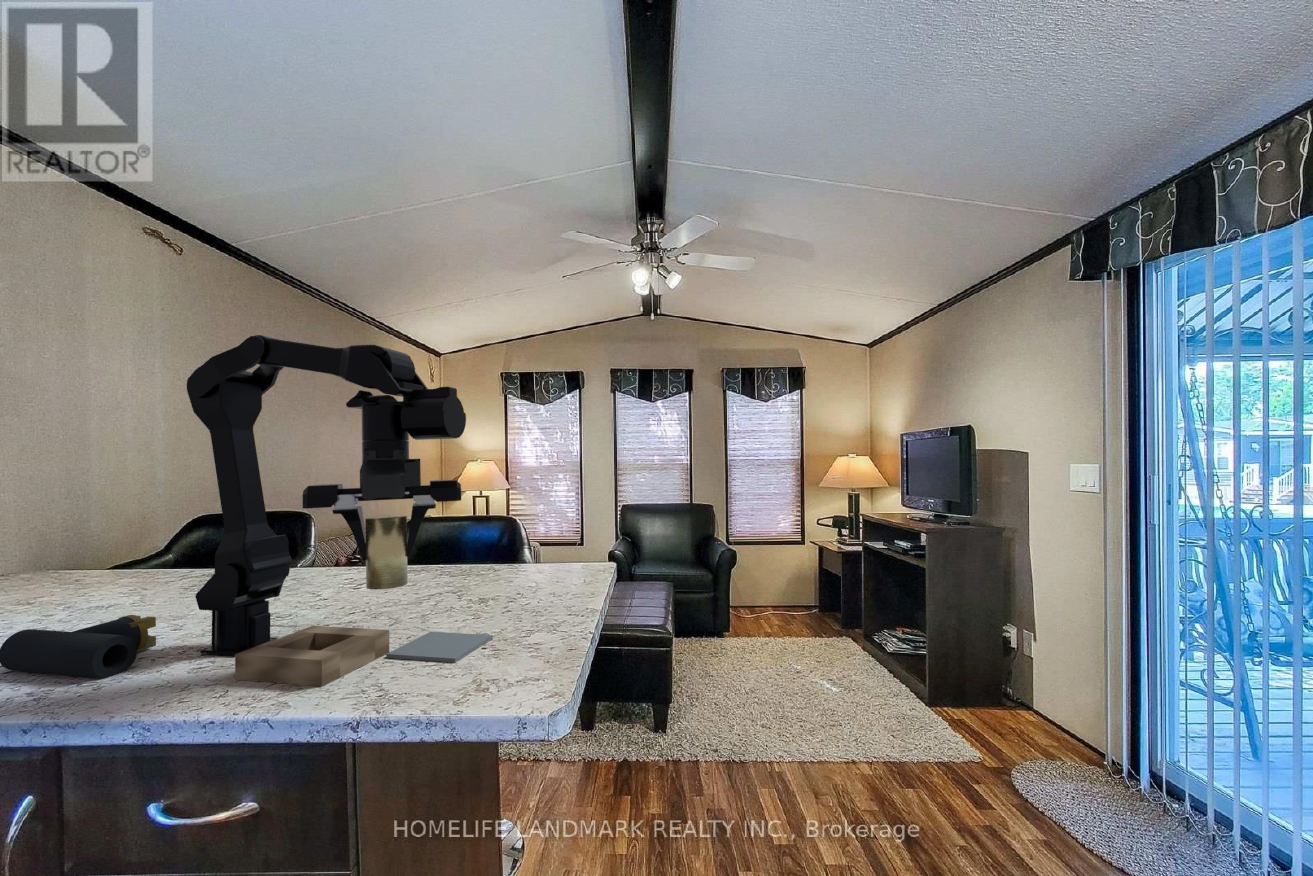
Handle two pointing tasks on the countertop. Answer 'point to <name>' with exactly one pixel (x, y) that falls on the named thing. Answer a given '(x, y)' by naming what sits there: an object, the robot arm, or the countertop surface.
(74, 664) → the pipe connector
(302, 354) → the robot arm
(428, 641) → the mat
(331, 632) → the housing
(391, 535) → the end plug
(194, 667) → the countertop surface
